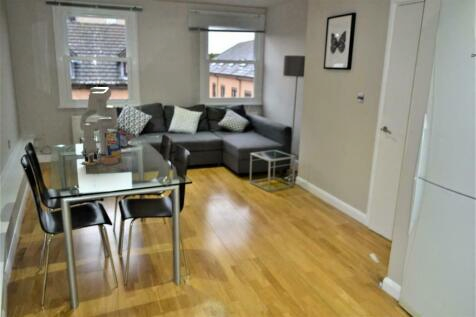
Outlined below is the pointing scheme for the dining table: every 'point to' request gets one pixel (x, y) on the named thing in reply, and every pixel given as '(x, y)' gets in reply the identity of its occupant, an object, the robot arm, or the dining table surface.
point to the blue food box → (113, 144)
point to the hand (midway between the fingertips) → (91, 160)
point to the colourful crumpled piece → (124, 138)
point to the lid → (91, 161)
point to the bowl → (109, 159)
